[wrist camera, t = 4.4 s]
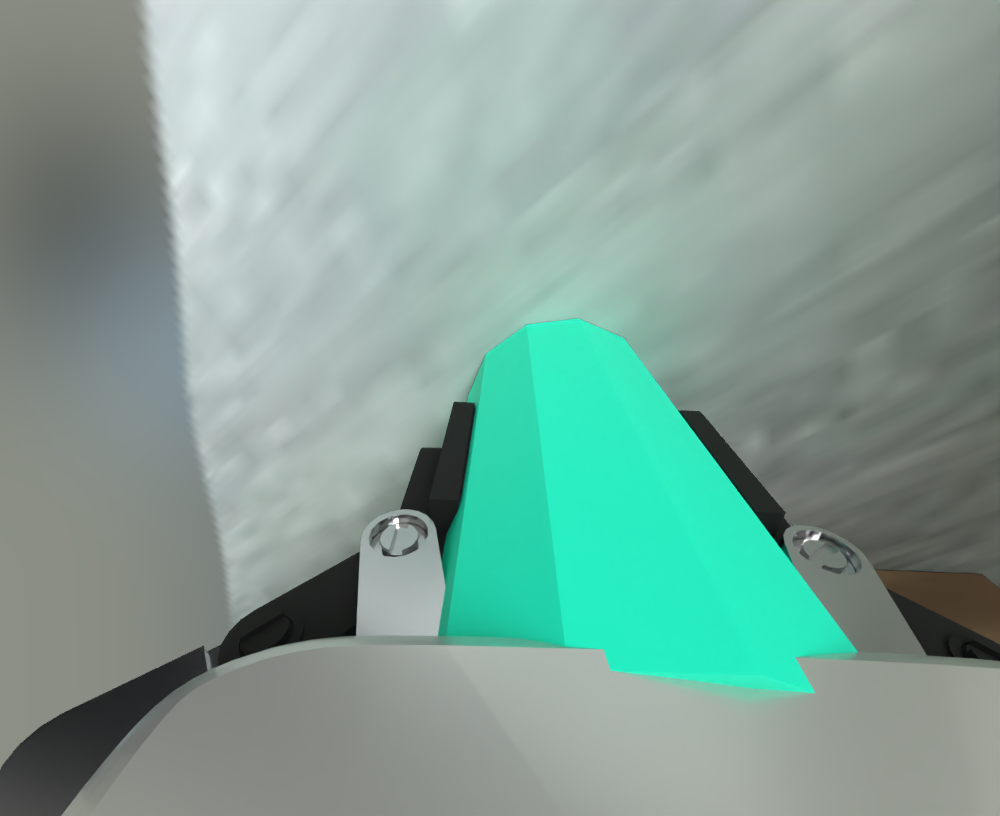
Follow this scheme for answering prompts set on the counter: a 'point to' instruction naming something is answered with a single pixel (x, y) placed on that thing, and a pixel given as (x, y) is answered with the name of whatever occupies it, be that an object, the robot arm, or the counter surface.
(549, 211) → the counter surface
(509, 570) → the candle
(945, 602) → the walnut base
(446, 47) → the counter surface
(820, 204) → the counter surface
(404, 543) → the robot arm
